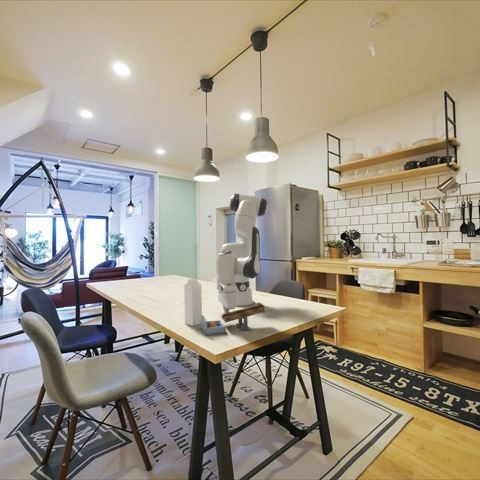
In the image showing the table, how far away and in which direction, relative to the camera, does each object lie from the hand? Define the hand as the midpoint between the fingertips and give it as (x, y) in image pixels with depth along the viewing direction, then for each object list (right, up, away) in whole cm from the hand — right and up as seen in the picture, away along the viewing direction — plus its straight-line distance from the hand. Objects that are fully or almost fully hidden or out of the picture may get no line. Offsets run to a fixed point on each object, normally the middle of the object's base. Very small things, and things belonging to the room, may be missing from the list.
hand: (226, 314), depth 130 cm
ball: (-6, -3, -8) cm, 10 cm away
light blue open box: (-6, -5, -8) cm, 11 cm away
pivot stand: (+8, -5, -3) cm, 10 cm away
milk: (-16, -6, +4) cm, 18 cm away
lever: (+8, -1, -1) cm, 8 cm away
